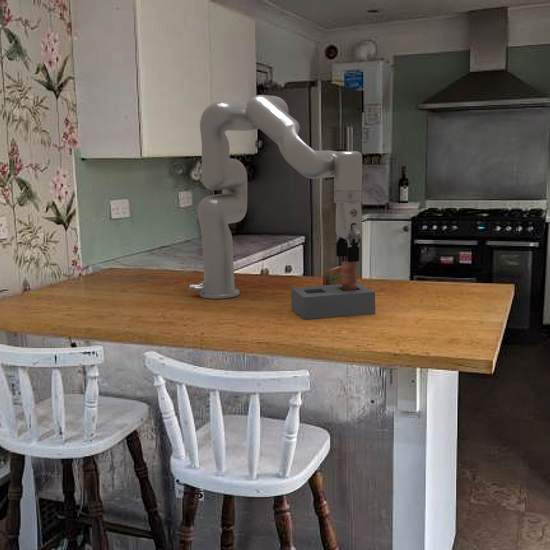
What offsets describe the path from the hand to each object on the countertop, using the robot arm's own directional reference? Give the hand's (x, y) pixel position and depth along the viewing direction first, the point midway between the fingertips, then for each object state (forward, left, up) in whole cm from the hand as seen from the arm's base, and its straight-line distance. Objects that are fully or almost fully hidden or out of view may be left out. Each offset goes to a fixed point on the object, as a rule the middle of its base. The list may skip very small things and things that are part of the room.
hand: (347, 258), depth 192 cm
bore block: (-5, 0, -14) cm, 15 cm away
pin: (0, 0, -13) cm, 13 cm away
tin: (+4, +23, -15) cm, 27 cm away
